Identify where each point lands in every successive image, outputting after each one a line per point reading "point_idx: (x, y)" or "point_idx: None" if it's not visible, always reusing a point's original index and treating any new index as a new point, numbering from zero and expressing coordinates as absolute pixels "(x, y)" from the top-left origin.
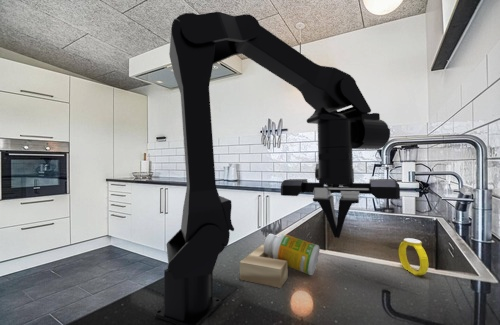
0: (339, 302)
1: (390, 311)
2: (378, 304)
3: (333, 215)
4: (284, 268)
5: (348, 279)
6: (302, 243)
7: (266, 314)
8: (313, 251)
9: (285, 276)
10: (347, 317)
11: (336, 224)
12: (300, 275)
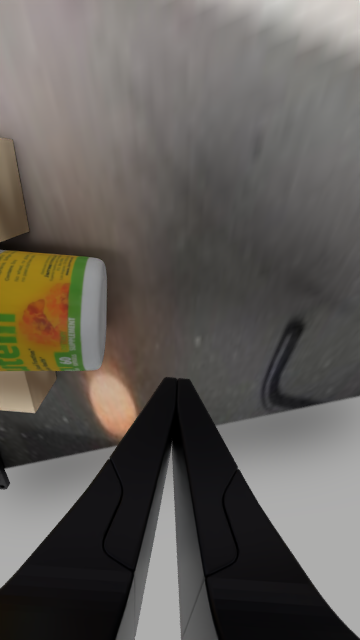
0: None
1: (270, 396)
2: (256, 382)
3: (148, 566)
4: (34, 379)
5: (210, 290)
6: (27, 362)
7: (74, 444)
8: (90, 368)
9: None
10: None
11: (170, 435)
12: None
